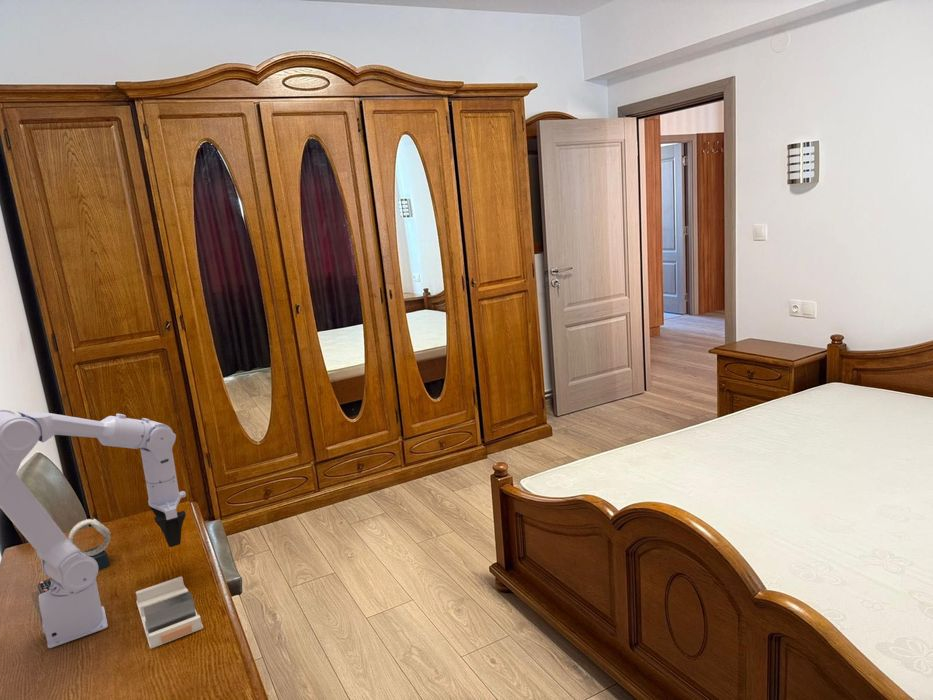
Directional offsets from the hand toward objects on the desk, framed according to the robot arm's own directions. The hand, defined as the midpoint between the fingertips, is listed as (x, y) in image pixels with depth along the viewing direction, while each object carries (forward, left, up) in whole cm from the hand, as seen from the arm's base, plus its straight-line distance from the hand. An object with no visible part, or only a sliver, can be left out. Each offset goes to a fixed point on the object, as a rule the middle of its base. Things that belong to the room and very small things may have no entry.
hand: (171, 538), depth 130 cm
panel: (-4, -19, -9) cm, 21 cm away
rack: (-4, -13, -9) cm, 17 cm away
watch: (-14, +18, -10) cm, 25 cm away
